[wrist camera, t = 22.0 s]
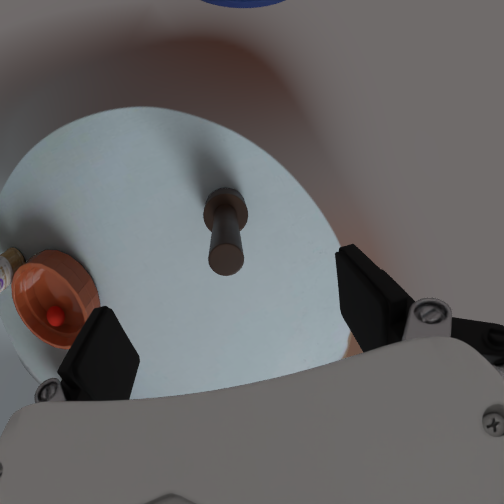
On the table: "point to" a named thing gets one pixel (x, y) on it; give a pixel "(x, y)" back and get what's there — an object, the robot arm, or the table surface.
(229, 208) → the brown wooden peg
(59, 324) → the berry
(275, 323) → the table surface
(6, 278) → the sprinkles bottle
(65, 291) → the bowl
